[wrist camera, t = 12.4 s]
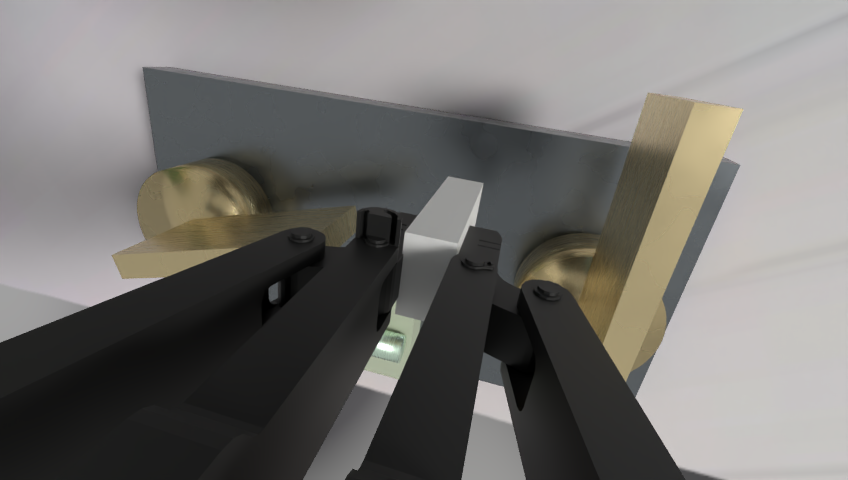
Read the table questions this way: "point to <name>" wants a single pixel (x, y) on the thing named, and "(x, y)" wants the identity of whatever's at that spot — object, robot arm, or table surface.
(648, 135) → the near knob
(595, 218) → the level plate
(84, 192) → the table surface
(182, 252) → the far knob
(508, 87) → the table surface
